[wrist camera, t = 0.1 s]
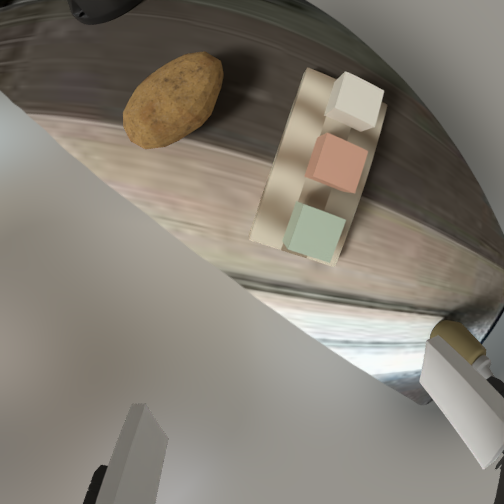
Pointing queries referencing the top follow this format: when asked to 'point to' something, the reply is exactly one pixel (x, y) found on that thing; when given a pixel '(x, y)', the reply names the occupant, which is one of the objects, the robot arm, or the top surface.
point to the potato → (173, 100)
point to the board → (296, 162)
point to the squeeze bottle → (464, 345)
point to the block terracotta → (336, 163)
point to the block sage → (313, 232)
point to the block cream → (354, 102)
